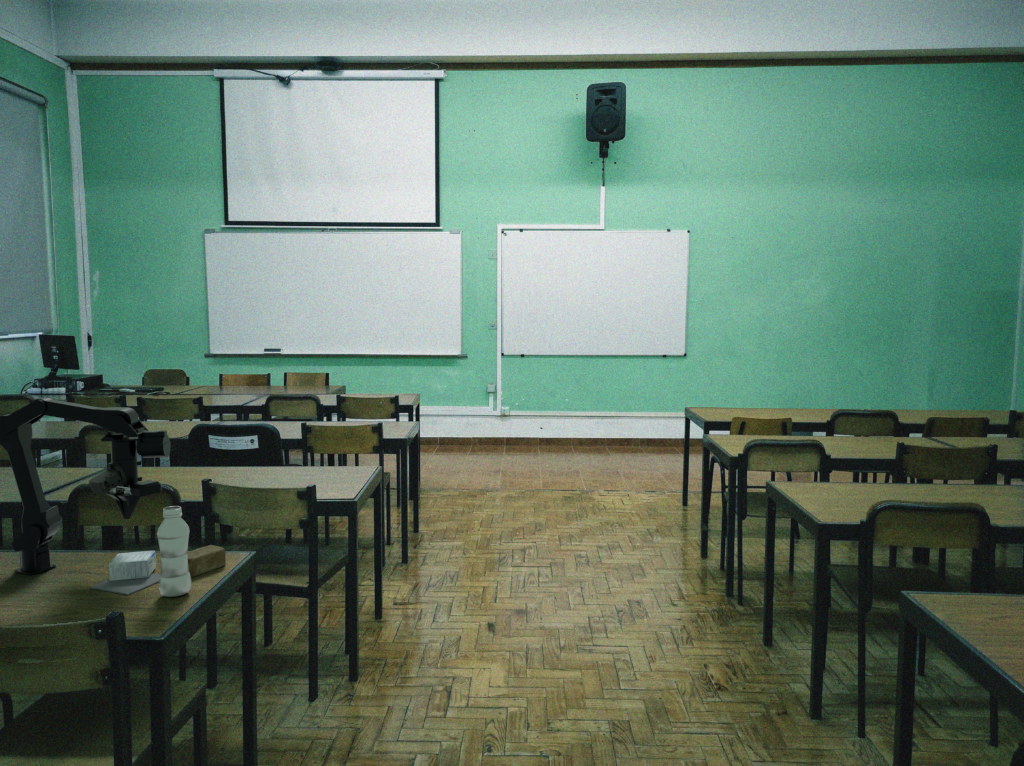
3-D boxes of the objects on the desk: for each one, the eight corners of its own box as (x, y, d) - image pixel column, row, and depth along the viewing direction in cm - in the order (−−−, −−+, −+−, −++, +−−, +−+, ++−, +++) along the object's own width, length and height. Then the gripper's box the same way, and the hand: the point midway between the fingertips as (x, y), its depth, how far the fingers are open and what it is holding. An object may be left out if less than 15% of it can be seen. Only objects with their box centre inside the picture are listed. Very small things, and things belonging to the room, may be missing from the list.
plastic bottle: (166, 589, 161) (162, 504, 159) (196, 589, 161) (193, 504, 160) (153, 600, 155) (149, 512, 153) (185, 600, 155) (181, 511, 153)
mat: (89, 588, 162) (89, 586, 162) (134, 571, 173) (134, 569, 173) (127, 595, 158) (127, 593, 158) (170, 577, 169) (170, 576, 169)
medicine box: (108, 581, 165) (148, 578, 168) (107, 563, 165) (148, 560, 167) (118, 570, 173) (156, 567, 175) (117, 552, 173) (155, 550, 175)
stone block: (173, 575, 171) (172, 555, 170) (213, 561, 181) (212, 542, 180) (189, 579, 168) (188, 559, 168) (228, 565, 178) (228, 546, 178)
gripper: (68, 461, 172) (71, 523, 173) (121, 467, 165) (124, 532, 166) (109, 453, 182) (112, 512, 183) (161, 458, 175) (164, 520, 176)
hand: (127, 519), depth 177 cm, fingers closed
